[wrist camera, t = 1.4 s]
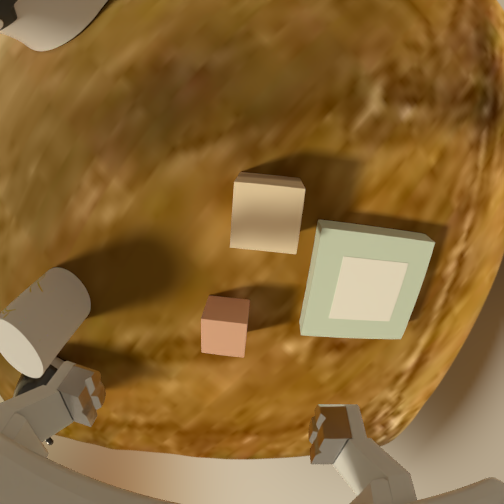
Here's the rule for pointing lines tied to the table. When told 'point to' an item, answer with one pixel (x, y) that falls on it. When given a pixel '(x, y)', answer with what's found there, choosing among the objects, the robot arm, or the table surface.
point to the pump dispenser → (38, 382)
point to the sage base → (363, 280)
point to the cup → (42, 321)
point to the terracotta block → (224, 326)
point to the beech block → (266, 212)
